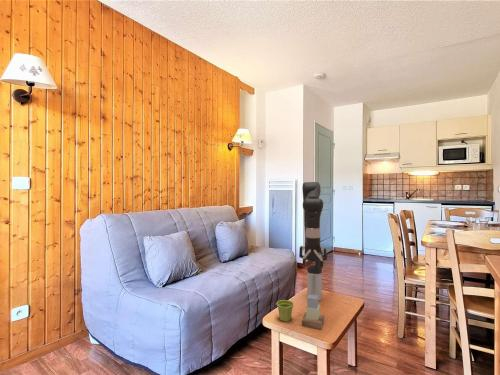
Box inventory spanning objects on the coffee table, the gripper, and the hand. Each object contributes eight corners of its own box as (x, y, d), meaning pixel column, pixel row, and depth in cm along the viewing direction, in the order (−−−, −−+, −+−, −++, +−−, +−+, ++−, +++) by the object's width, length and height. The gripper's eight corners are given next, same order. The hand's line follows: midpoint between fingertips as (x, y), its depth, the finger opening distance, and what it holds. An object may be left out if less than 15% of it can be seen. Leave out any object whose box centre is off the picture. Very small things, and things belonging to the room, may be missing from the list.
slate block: (308, 303, 152) (308, 294, 152) (318, 304, 150) (318, 295, 150) (307, 307, 147) (307, 297, 147) (317, 308, 146) (317, 299, 146)
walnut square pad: (305, 317, 155) (305, 311, 155) (324, 320, 152) (324, 315, 152) (301, 326, 146) (301, 319, 146) (321, 329, 142) (321, 323, 142)
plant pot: (279, 324, 148) (279, 307, 148) (274, 316, 158) (274, 300, 157) (296, 322, 150) (296, 306, 150) (290, 314, 159) (290, 299, 159)
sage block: (308, 313, 153) (308, 302, 153) (319, 316, 150) (319, 304, 150) (306, 318, 147) (306, 307, 147) (317, 320, 145) (317, 309, 145)
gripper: (298, 236, 148) (298, 267, 148) (325, 238, 142) (325, 270, 142) (301, 234, 155) (301, 263, 155) (327, 235, 149) (327, 266, 149)
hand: (313, 266), depth 149 cm, fingers open, 8 cm apart
